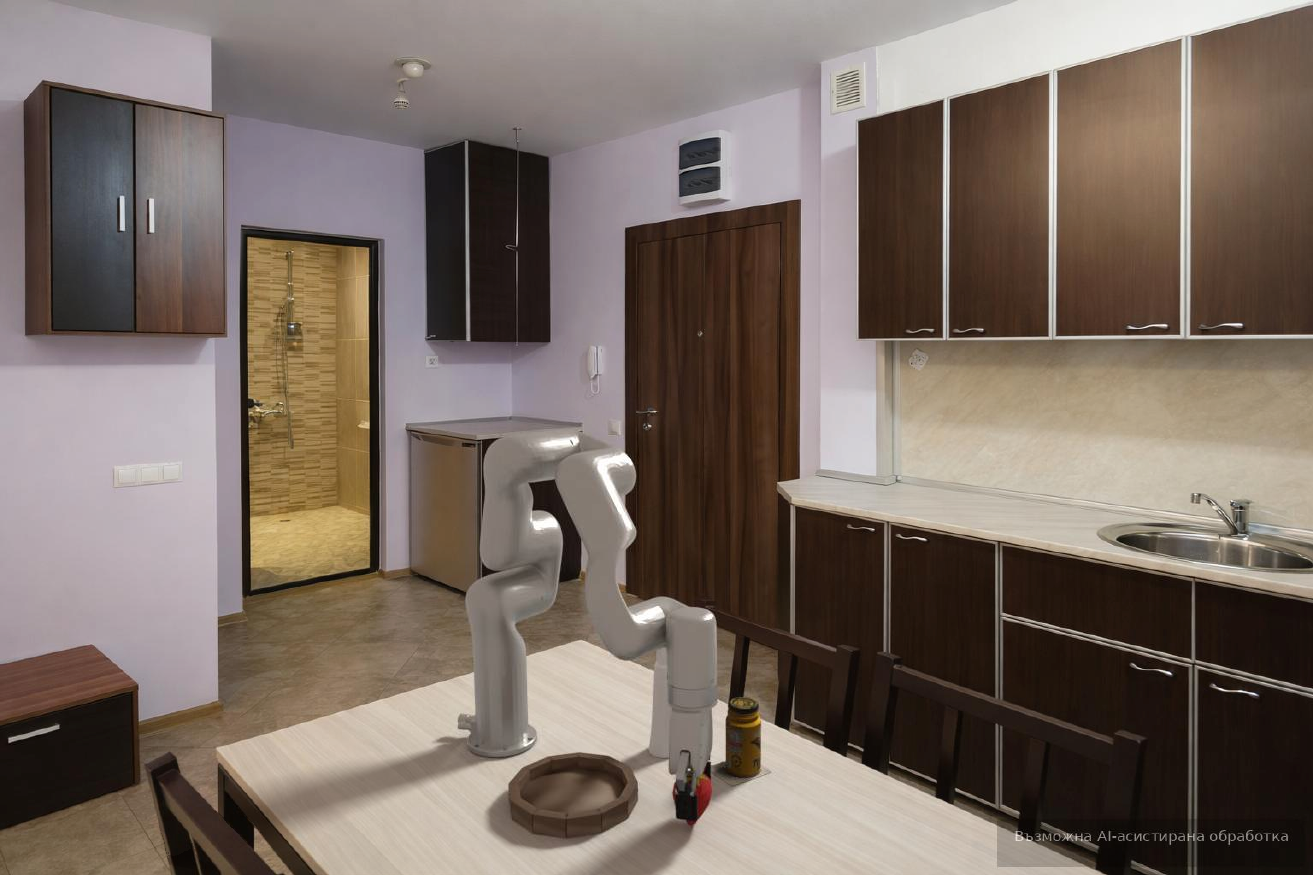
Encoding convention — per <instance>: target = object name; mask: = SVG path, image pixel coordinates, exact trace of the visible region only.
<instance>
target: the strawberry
mask: <svg viewBox="0 0 1313 875" xmlns="http://www.w3.org/2000/svg"><path fill="white" fill-rule="evenodd" d="M704 771H705V770H704ZM704 771H703V772H704ZM687 772H694V770H693V769H691V770H690V769H689V770H688V771H687ZM691 781H692V778H687V783H689V784H690V786H691ZM675 786H676V780H675V781H674V783H673V787H672V792H671V794H672V799H673V802H674V804H675ZM695 793H698V819H697V821H688V820H684V821H685V822H686V823H687V825H688V826H691V827H693V826H695V825H696V823H697V822H698V821H699V820H700V818H701V817H702V816H703V814H704V813H705V811H706V810H707V809H708V807H709V805H710V803H711V800H712V795H713V785H712V779H711V780H710V779H709V778H708V777H707V776H706V775H705V774H704V773H702V775H701V776H699V777H698V778H697V782H696V790H695Z"/></svg>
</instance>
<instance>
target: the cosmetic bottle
mask: <svg viewBox="0 0 1313 875" xmlns="http://www.w3.org/2000/svg"><path fill="white" fill-rule="evenodd" d="M655 652H656V653H655V654H656V655H655V656H656V662H654V665H653V681H652V683H653V684H652V687H653V688H652V690H653V691H652V710H651V711H652V714H651V727H650V736H649V744H648V748H647V749H648V753H649V754H650V755H651V756H652V757H653V756H654V757H655V758H661V759H669V733H670V718H671V710H672V707H670V706H669V705H668V703H667V664H666V648H662V649H659V650H656V651H655Z"/></svg>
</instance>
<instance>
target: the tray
mask: <svg viewBox="0 0 1313 875" xmlns="http://www.w3.org/2000/svg"><path fill="white" fill-rule="evenodd" d="M638 783H639V782H638V779H637V778H636V776H635V774H634V771H633V769H632V767H631V766H630V765H628V764H626V763H624V762H623V761H621V760H619V759H616V758H615V757H612V756H610V755H605V754H598V753H597V754H596V753H589V752H582V751H579V752H578V751H577V752H576V751H575V752H572V753H571V752H570V753H563V754H556V755H555V754H554V755H550V756H546V757H543V758H541V759H539V760H537V761H533V762H532V763H530V764H527V765H524V766H523V767H522V768H520V770H518V771H517V773H516V774H515V775H514V776H513V778H512V779H511V780H510V781H509V782H508V784H507V785H508V803H509V804H508V805H509V810H510V817H511V820H512V821H513V822H515V823H516V824H518V825H520V826H521V827H523V828H524V829H526V830H527V831H529V832H530V833H531V834H534V835H543V836H548V837H549V836H550V837H555V838H562V839H566V838H567V839H571V838H578V837H584V836H588V835H589V836H591V835H596V834H601V833H605V832H606V831H608V830H610V829H611V828H613V827H615V826H617V825H619V824H620V823H623V822H624V821H626V820H627V819H629V818H630V816H631V814H632V812H633V811H634V808H635V807H636V806H637V803H638V802H639V784H638Z"/></svg>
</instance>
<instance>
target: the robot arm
mask: <svg viewBox="0 0 1313 875" xmlns="http://www.w3.org/2000/svg"><path fill="white" fill-rule="evenodd" d="M636 472H637V471H636V468H635V465H634V463H633V461H632V459H631V458H630V457H629V456H628V454H627V453H626V452H624V451H623V450H622V449H620V448H619V447H617V446H614V445H612V444H610V443H608V442H606V441H603V440H601V439H599V438H596V437H594V436H593V435H592V436H591V435H589V434H587V433H585V432H583V431H582V432H581V431H579V430H577V429H576V430H575V429H572V428H569V429H567V428H563V429H554V430H546V431H545V430H543V431H533V432H531V431H529V432H523V433H517V434H516V433H515V434H511V435H506V436H503V437H501V438H497V439H496V440H494V441H493V442H492V443H491V444H490V445H489V447H488V448H487V450H486V453H485V455H484V458H483V480H484V501H483V510H482V521H481V531H480V540H479V557H480V559H481V562H482V564H483V565H484V566H485V568H487V569H489V570H492V571H495V573H491V574H488V575H486V576H483V577H480V578H479V579H477V580H476V581H475V582H473V583H472V584H471V585H470V586H469V587H468V589H467V591H466V594H465V601H464V602H465V609H466V614H467V618H468V622H469V627H470V633H471V641H472V658H473V660H472V661H473V684H474V709H475V710H474V714H469V713H460V714H459V716H458V717H457V723H458V724H457V729H458V730H463V731H469V732H470V734H469V735H468V737H467V747H468V749H469V750H470V751H471V752H473V753H474V754H476V755H479V756H482V757H488V758H501V757H503V758H504V757H505V758H506V757H512V756H514V755H515V756H516V755H518V754H521V753H523V752H526V751H528V750H529V749H531V748H532V747H533V746H534V745H535V744H536V742H537V739H538V733H537V730H536V728H535V727H534V726H532V725H530V724H529V704H528V702H529V701H528V697H529V696H528V672H527V671H528V670H527V651H526V650H527V649H526V648H527V647H526V643H525V641H524V639H523V637H522V635H521V634H520V633H519V631H518V630H517V628H516V624H517V623H520V622H521V621H523V620H526V619H529V618H532V617H534V616H538V615H540V614H543V613H544V612H545V613H546V612H547V611H548V610H549V609H551V607H552V606H553V604H554V603H555V601H556V597H557V594H558V587H559V582H560V572H561V566H562V565H561V563H562V557H563V549H564V548H563V546H564V540H563V538H564V537H563V532H562V529H561V525H560V523H559V522H558V520H557V518H556V517H555V516H553V514H551V513H550V512H548V511H545V510H533V507H534V506H533V505H534V495H533V491H532V488H531V486H530V483H537V482H543V481H552V480H554V481H555V484H556V487H557V490H558V492H559V494H560V496H561V499H562V501H563V503H564V505H565V507H566V509H567V511H568V514H569V516H570V517H571V520H572V522H573V524H574V526H575V529H576V531H577V533H578V535H579V538H580V539H581V541H582V543H583V545H584V548H585V551H586V552H587V562H586V567H585V574H584V600H585V605H586V608H587V611H588V615H589V617H590V620H591V621H592V624H593V625H594V628H595V630H596V632H597V634H598V637H599V638H600V640H601V642H602V644H603V645H604V647H605V649H606V650H607V651H608V652H609V653H610V654H611V655H612V656H613V657H615V658H616V659H618V660H622V661H624V662H626V661H630V662H631V661H634V660H637V659H640V658H642V657H644V656H647V655H648V654H651V653H653V652H656V650H659V649H662V648H666V664H667V703H668V705H669V706H670V707H672V710H671V718H670V733H669V758H668V773H669V775H671V776H674V775H675V781H676V786H675V803H674V808H675V818H676V819H677V820H681V821H685V820H688V821H697V822H698V820H699V819H698V793H695V790H696V782H697V778H698V777H699V776H701V775H702V773H704V774H705V775H706V776H707V777H708V778H709V779H710V780H711V781H712V772H711V765H712V761H711V755H712V754H711V753H712V750H713V738H714V736H713V732H714V731H713V708H715V707H716V706H717V704H718V698H719V697H718V696H719V695H718V645H717V644H718V643H717V639H718V638H717V636H718V635H717V632H718V631H717V620H716V616H715V615H714V613H713V612H712V611H710V610H709V609H706V608H702V607H696V606H695V607H694V606H688V605H687V604H684V603H682V602H680V601H678V600H677V599H674V598H671V597H667V596H656V597H653V598H651V599H647V600H644V601H642V602H639V603H636V604H633V605H630V606H628V605H627V604H626V601H625V600H624V597H623V596H622V592H621V590H620V586H619V581H618V567H619V563H620V560H621V558H622V555H623V554H624V552H625V551H626V550H627V549H628V548H629V546H631V545H632V543H633V542H634V541H635V539H636V538H637V537H636V536H637V529H636V526H635V525H634V522H633V520H632V519H631V516H630V514H629V512H628V510H627V508H626V505H625V503H624V501H623V500H622V498H621V497H623V496H626V495H627V494H628V493H630V492H632V490H633V489H634V487H635V484H636V480H637V473H636ZM691 769H693V770H694V772H687V771H690V770H691ZM704 770H705V771H704ZM703 771H704V772H703ZM687 778H692V781H691V786H690V784H689V783H687ZM697 819H698V820H697Z"/></svg>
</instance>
